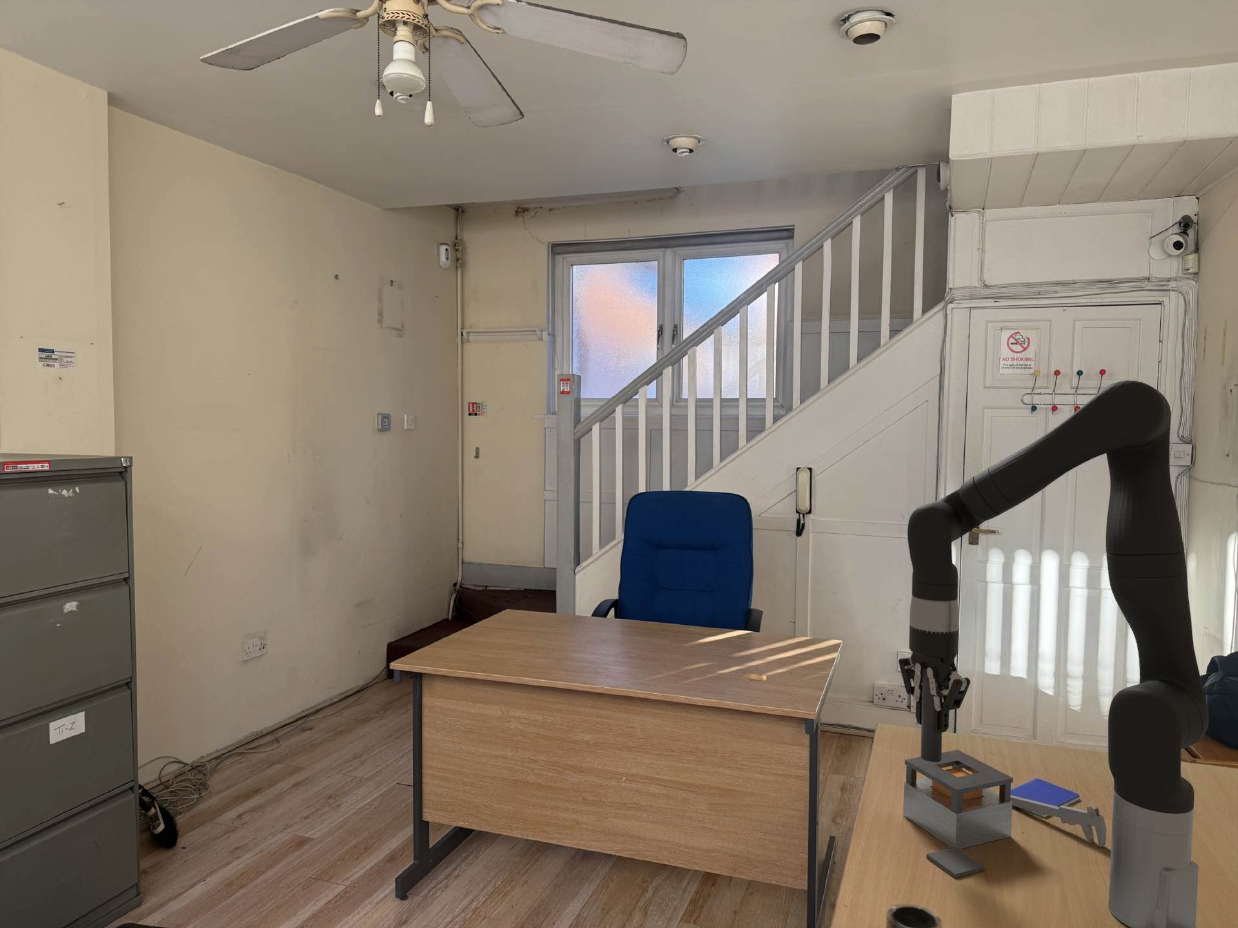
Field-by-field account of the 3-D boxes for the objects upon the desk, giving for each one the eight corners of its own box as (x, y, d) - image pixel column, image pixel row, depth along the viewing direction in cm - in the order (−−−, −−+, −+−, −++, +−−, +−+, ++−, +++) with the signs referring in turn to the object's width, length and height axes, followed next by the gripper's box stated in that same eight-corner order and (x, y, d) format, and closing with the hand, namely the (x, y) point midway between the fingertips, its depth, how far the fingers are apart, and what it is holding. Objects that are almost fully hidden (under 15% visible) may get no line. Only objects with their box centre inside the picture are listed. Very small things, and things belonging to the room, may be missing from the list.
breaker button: (981, 808, 133) (982, 780, 133) (956, 814, 131) (957, 786, 131) (956, 793, 138) (957, 767, 138) (931, 799, 136) (932, 772, 136)
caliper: (1105, 848, 128) (1107, 810, 128) (1102, 849, 128) (1103, 812, 128) (991, 796, 146) (992, 763, 146) (987, 797, 145) (988, 764, 145)
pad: (985, 869, 121) (985, 866, 121) (955, 877, 119) (955, 874, 119) (955, 849, 127) (955, 846, 127) (926, 857, 125) (926, 853, 125)
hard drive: (1044, 811, 138) (1079, 793, 145) (999, 793, 144) (1035, 776, 151) (1043, 820, 138) (1079, 802, 145) (999, 801, 145) (1035, 784, 151)
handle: (945, 760, 129) (947, 669, 128) (930, 763, 128) (932, 672, 127) (931, 752, 132) (932, 664, 131) (916, 755, 131) (918, 666, 130)
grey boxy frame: (1010, 836, 131) (1013, 777, 131) (955, 849, 127) (957, 789, 126) (956, 803, 143) (957, 749, 142) (903, 815, 138) (904, 759, 138)
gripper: (986, 632, 124) (983, 739, 125) (919, 612, 137) (917, 710, 137) (950, 637, 121) (947, 747, 122) (885, 616, 134) (883, 716, 135)
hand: (931, 726), depth 130 cm, fingers closed on handle, 3 cm apart
